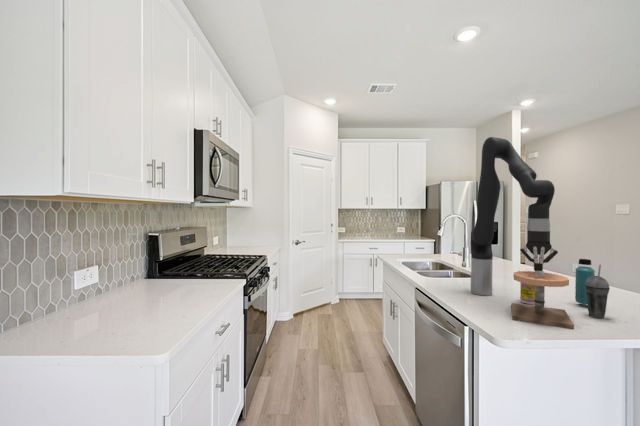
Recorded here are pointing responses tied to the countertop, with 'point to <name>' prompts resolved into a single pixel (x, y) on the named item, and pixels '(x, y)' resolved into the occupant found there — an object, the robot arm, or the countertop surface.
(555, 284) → the collar
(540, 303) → the pipe stand
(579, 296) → the beverage bottle
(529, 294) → the supplement bottle
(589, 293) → the beverage cup
